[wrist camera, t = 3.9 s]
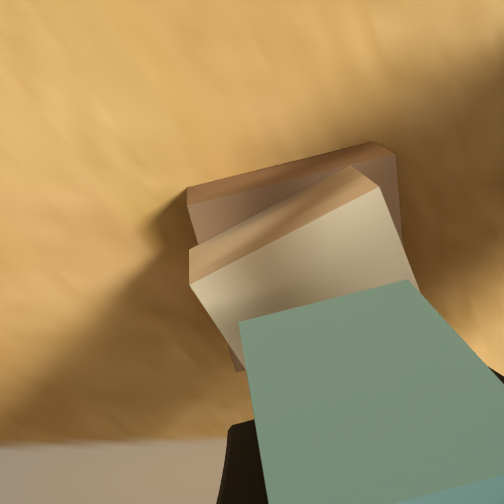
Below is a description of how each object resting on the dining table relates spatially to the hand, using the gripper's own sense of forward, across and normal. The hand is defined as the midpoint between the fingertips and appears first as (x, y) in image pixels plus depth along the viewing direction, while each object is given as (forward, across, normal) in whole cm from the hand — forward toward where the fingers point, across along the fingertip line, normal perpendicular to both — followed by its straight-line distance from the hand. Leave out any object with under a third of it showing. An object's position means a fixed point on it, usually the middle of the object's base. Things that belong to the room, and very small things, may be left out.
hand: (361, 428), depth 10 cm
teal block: (+2, 0, 0) cm, 2 cm away
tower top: (+7, 0, 0) cm, 7 cm away
